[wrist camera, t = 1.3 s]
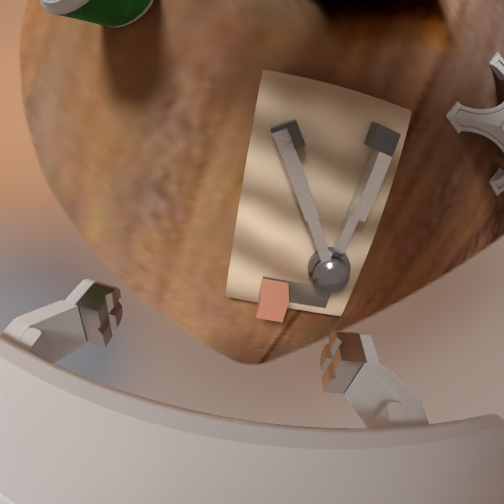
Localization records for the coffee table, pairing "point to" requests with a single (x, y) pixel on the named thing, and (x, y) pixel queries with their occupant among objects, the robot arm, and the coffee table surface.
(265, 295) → the salmon pink block
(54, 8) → the soda can
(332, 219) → the board
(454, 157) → the coffee table surface
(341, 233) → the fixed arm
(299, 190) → the tong arm
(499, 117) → the eiffel tower
